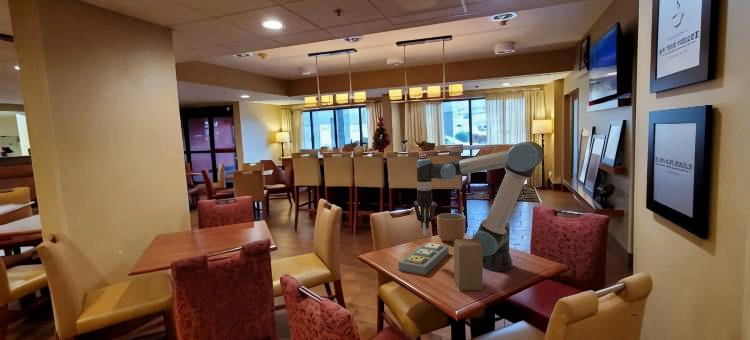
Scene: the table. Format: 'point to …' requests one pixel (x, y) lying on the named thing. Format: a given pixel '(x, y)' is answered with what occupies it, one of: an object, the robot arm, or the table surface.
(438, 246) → the tile one
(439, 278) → the table surface
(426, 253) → the tile two
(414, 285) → the table surface
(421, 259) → the tile three
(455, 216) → the planter
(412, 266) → the tile board
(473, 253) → the wooden block
